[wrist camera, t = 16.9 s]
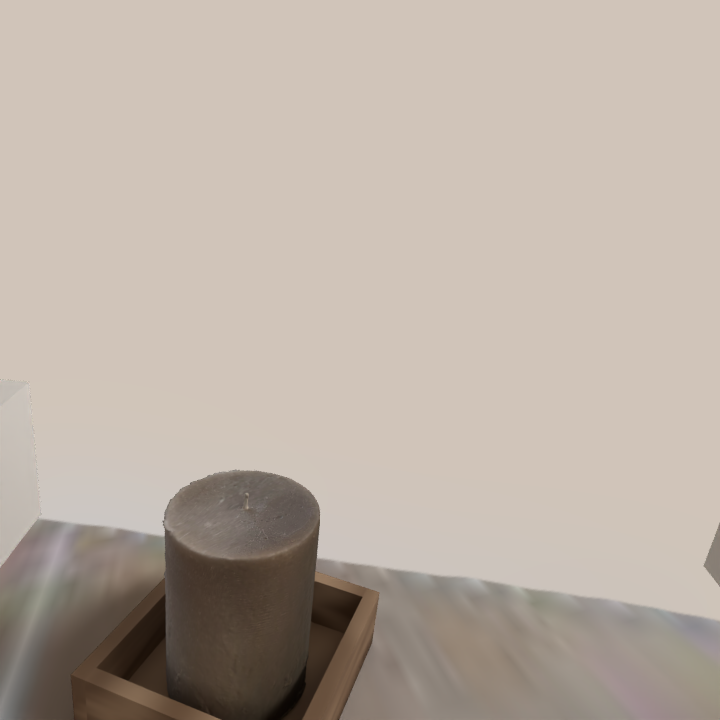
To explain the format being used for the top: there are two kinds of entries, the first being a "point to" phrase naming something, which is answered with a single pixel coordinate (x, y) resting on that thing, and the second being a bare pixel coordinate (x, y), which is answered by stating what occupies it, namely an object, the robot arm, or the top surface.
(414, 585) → the top surface
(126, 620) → the walnut crate
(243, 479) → the pillar candle
